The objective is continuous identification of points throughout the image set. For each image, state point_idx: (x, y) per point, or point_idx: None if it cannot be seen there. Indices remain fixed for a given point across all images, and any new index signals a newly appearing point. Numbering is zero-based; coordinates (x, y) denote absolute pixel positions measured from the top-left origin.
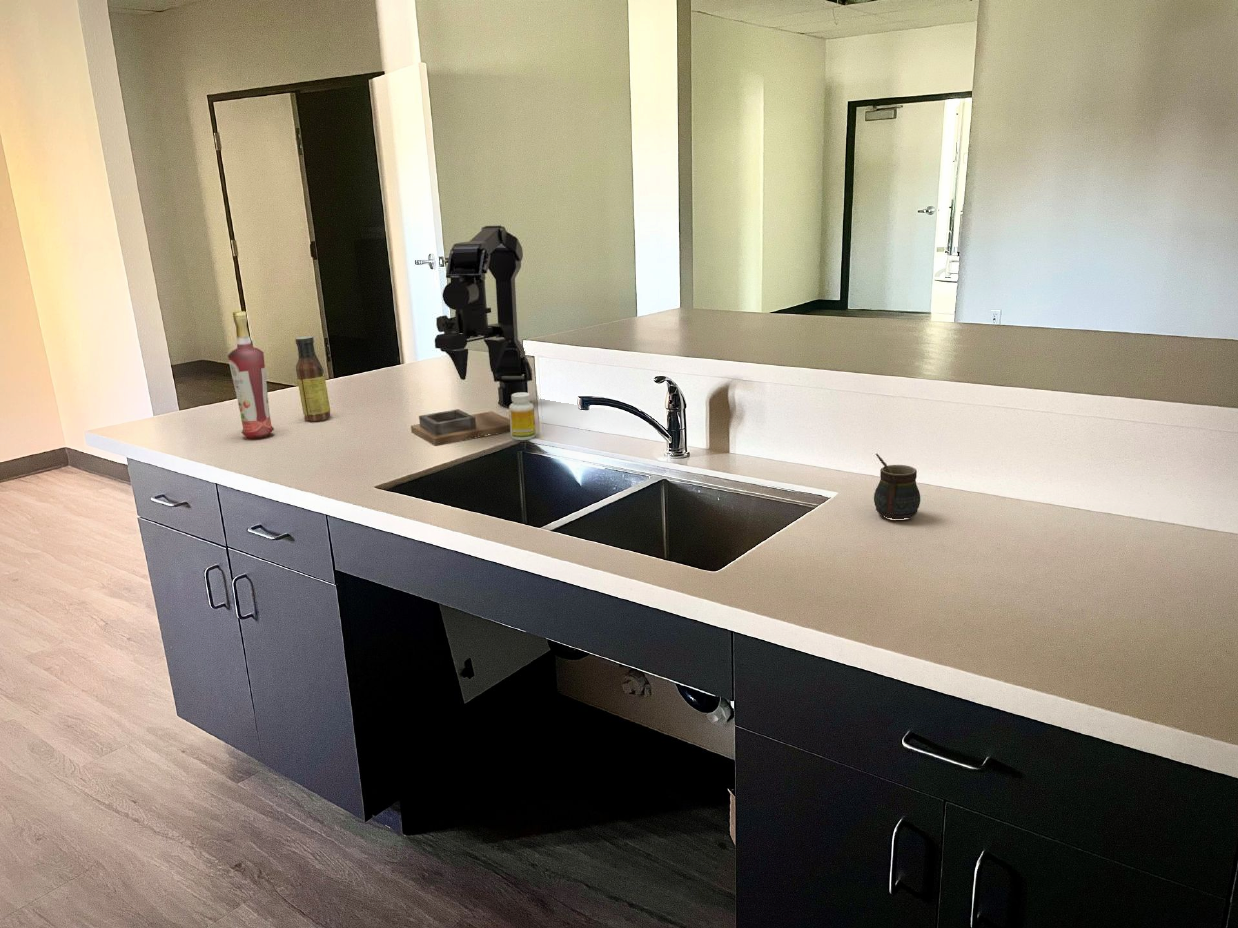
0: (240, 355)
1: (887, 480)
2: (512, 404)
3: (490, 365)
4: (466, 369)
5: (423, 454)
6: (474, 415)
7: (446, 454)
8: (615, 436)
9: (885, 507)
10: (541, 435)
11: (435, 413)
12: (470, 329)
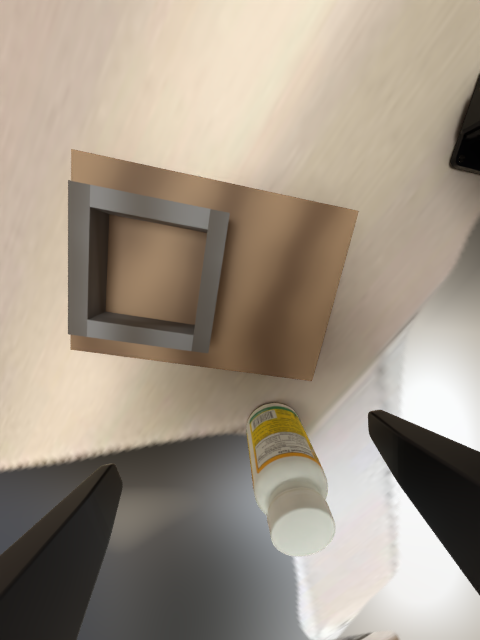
0: None
1: None
2: (269, 493)
3: (397, 437)
4: (88, 592)
5: (29, 382)
6: (291, 212)
7: (75, 416)
8: (382, 526)
9: None
10: None
11: (135, 200)
12: None
